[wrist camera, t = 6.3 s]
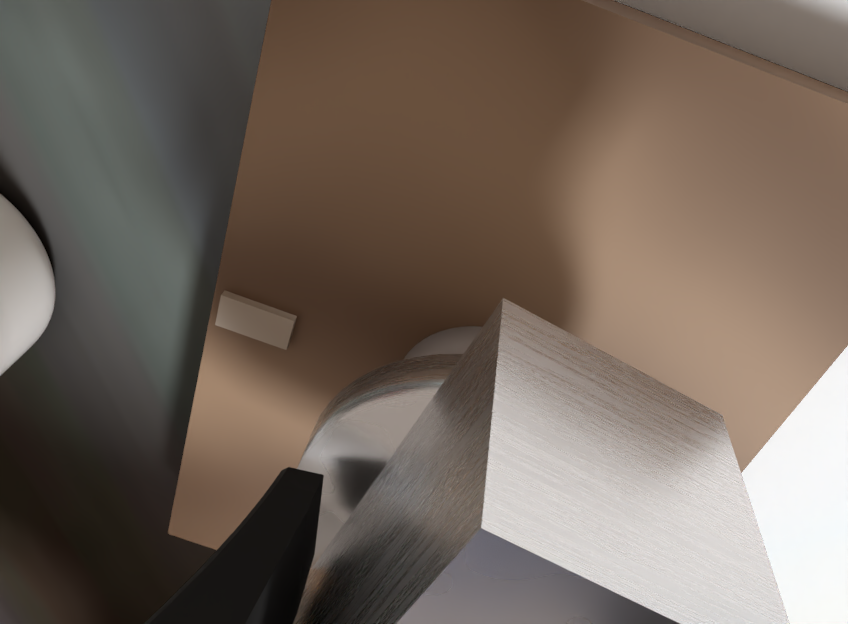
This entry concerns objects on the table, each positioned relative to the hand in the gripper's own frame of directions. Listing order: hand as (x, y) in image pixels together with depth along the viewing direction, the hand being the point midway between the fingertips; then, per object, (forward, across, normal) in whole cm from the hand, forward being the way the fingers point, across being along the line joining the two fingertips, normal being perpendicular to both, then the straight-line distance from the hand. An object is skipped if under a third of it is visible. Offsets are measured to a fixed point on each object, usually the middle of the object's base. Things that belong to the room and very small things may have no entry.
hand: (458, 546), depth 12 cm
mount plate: (+6, 0, 0) cm, 6 cm away
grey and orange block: (+1, 0, 0) cm, 1 cm away
